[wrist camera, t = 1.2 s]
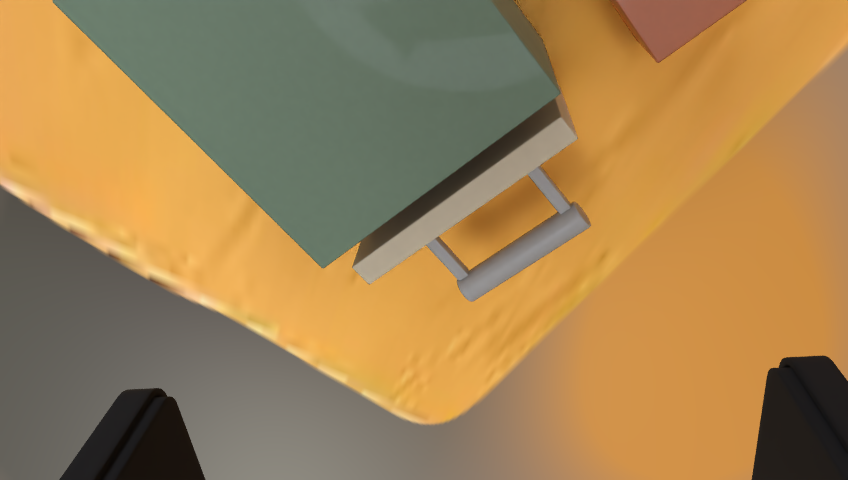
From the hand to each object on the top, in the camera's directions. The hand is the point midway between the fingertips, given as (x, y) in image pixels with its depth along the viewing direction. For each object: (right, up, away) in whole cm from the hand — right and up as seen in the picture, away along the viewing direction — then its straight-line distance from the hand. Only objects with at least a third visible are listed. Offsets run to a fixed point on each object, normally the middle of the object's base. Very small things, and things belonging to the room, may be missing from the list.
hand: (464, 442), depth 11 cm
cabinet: (-4, +15, +22) cm, 27 cm away
